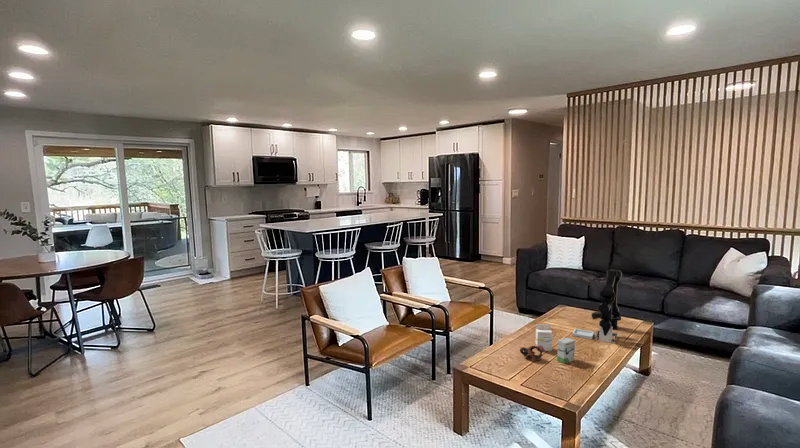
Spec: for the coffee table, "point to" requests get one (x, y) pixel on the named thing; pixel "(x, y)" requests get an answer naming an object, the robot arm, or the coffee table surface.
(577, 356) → the coffee table surface
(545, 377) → the coffee table surface
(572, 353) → the ink box
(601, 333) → the cream box grey panel
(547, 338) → the ink cartridge box
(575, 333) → the tray
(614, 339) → the grey flat square frame
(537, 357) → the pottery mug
